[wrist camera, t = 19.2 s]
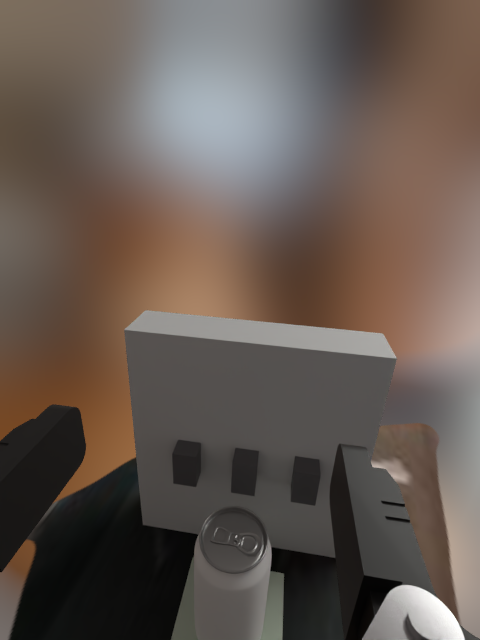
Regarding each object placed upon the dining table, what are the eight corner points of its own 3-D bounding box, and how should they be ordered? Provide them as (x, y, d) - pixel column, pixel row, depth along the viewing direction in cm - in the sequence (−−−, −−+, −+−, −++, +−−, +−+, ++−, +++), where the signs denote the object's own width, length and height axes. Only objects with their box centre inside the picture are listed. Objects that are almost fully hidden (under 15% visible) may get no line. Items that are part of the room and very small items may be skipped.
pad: (279, 707, 28) (280, 704, 28) (161, 681, 29) (160, 677, 29) (283, 577, 37) (283, 573, 37) (192, 560, 38) (192, 557, 38)
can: (254, 678, 29) (265, 591, 24) (183, 651, 31) (180, 564, 26) (268, 595, 35) (279, 512, 30) (208, 576, 36) (209, 493, 32)
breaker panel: (348, 578, 37) (403, 370, 27) (135, 540, 40) (114, 339, 30) (340, 519, 44) (382, 333, 34) (157, 490, 46) (145, 310, 36)
